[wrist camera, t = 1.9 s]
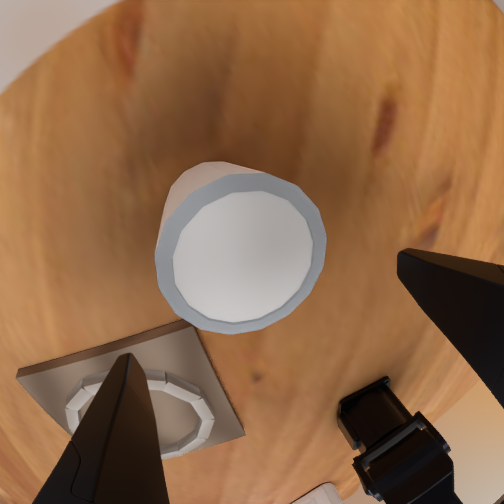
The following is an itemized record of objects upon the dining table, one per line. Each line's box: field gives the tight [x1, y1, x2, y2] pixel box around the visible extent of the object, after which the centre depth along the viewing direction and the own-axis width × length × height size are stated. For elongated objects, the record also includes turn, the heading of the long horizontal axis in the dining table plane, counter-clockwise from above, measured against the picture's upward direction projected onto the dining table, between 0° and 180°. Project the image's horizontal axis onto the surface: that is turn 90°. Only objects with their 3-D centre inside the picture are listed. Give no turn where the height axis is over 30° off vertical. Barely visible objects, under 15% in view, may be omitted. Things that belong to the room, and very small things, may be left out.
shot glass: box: [154, 161, 327, 335], centre depth 15 cm, size 7×7×7 cm
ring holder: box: [16, 319, 246, 460], centre depth 22 cm, size 15×15×2 cm
